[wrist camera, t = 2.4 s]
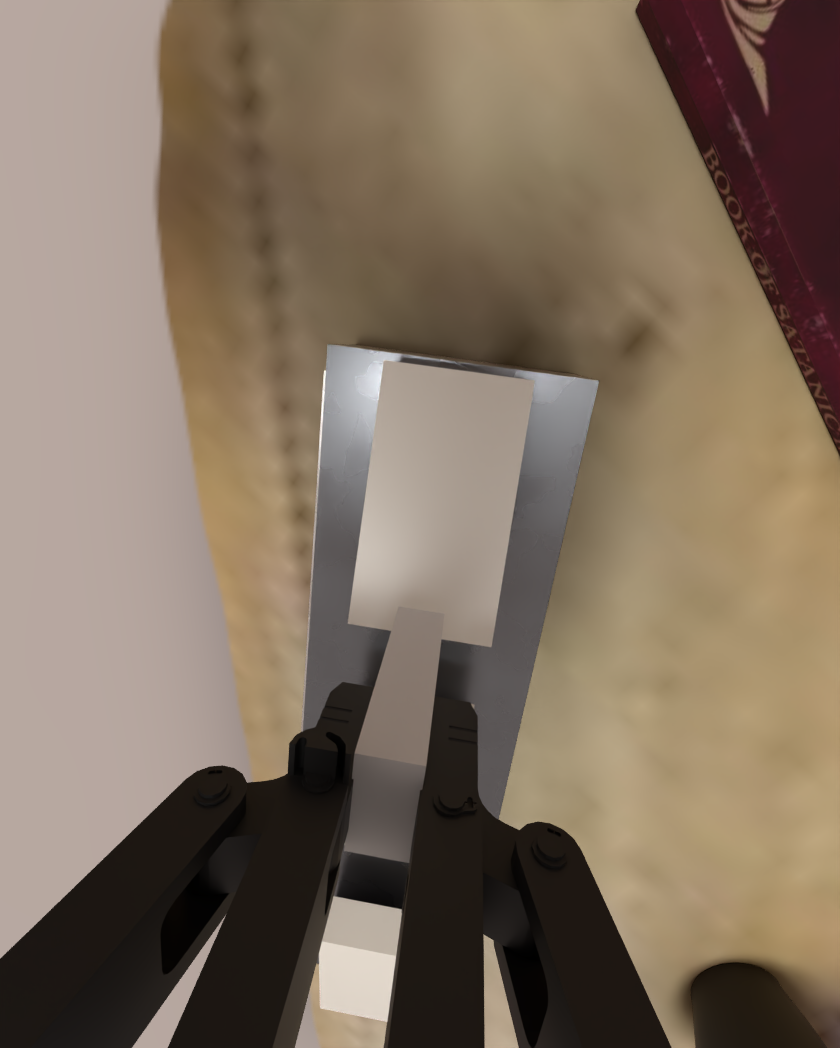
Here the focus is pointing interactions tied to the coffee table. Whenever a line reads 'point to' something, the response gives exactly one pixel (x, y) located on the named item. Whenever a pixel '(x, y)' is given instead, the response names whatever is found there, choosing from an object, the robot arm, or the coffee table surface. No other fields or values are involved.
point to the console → (527, 580)
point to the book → (770, 151)
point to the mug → (747, 1011)
